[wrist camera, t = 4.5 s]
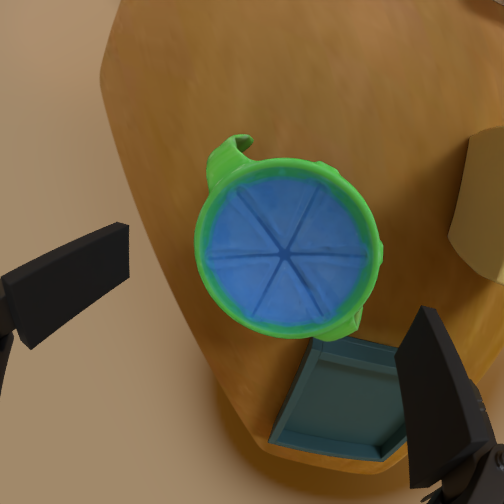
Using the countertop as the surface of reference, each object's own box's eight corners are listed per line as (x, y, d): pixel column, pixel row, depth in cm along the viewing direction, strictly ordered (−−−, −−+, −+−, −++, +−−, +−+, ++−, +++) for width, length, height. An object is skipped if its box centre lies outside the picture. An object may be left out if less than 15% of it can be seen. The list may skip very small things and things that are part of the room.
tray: (454, 358, 24) (462, 378, 20) (383, 444, 31) (383, 462, 28) (314, 327, 27) (311, 348, 24) (273, 424, 34) (267, 442, 31)
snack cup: (210, 169, 25) (141, 182, 15) (311, 110, 20) (296, 77, 11) (290, 311, 27) (266, 383, 18) (390, 270, 23) (416, 336, 14)
